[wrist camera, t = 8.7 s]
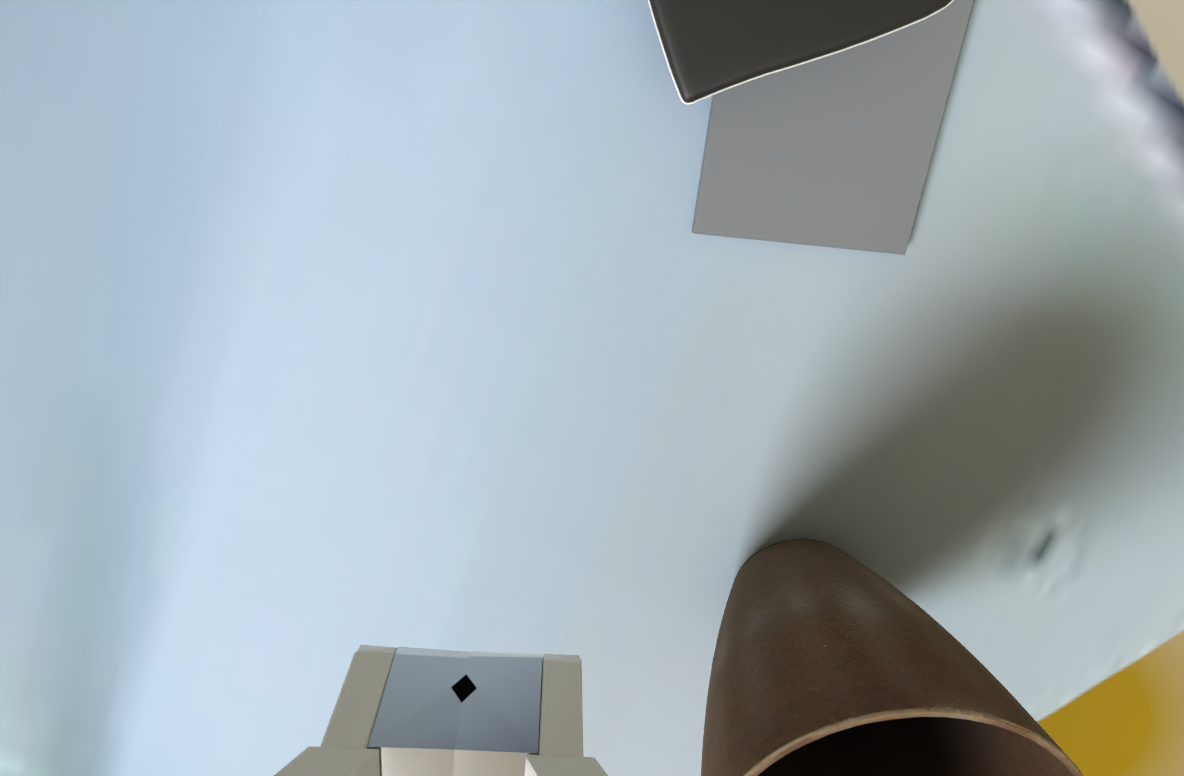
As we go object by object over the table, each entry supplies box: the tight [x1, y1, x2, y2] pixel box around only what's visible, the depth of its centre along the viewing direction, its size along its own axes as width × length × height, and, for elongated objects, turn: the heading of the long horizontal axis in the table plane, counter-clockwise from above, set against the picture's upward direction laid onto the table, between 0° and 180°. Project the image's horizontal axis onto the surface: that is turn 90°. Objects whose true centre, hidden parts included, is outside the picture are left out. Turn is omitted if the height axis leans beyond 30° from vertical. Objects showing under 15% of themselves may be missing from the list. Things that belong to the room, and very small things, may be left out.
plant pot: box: [701, 539, 1083, 776], centre depth 35 cm, size 15×15×16 cm
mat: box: [692, 0, 974, 255], centre depth 32 cm, size 10×13×1 cm
